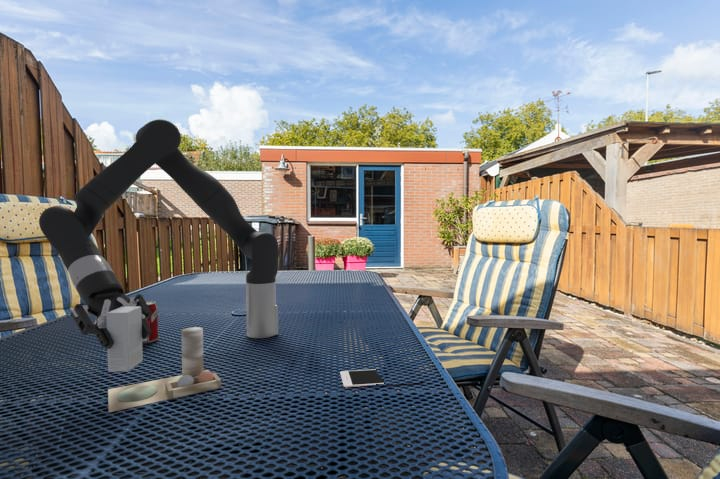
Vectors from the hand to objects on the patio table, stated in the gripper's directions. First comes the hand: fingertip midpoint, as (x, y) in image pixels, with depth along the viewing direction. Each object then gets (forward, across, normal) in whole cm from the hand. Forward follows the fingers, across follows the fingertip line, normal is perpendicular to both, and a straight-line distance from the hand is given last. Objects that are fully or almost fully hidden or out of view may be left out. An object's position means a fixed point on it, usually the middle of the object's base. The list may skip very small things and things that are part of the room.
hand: (129, 341), depth 80 cm
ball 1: (+14, +6, +1) cm, 15 cm away
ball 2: (+16, +9, -1) cm, 18 cm away
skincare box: (+3, 0, +5) cm, 6 cm away
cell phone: (+38, +33, -21) cm, 54 cm away
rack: (+12, +4, +5) cm, 13 cm away
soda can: (-15, +26, +32) cm, 44 cm away
